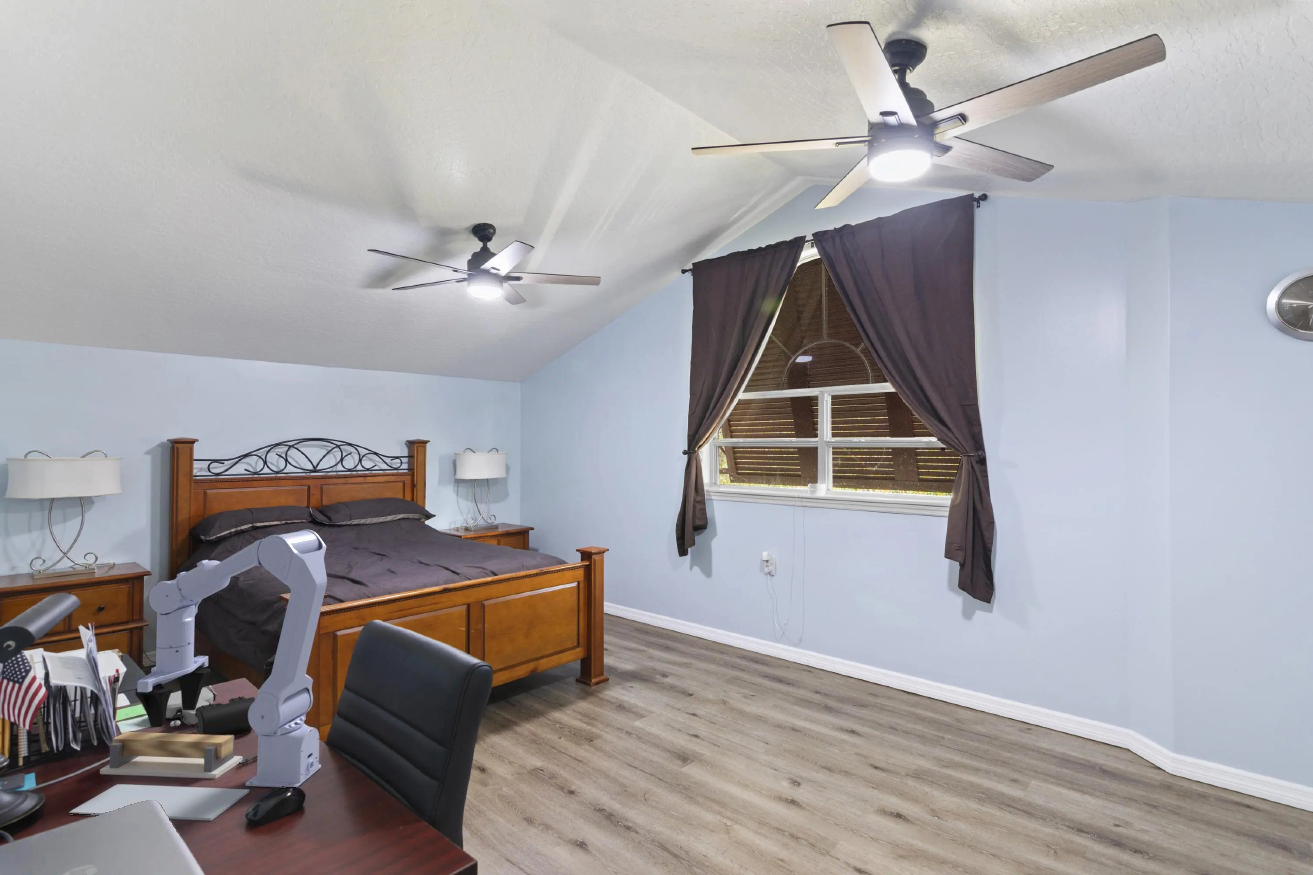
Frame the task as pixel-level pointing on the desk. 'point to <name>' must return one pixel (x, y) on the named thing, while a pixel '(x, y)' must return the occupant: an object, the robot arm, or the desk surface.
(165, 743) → the oak rail
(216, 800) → the rubber mat
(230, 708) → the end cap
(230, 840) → the desk surface
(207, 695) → the robot toy
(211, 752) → the hook rack
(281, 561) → the robot arm
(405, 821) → the desk surface
